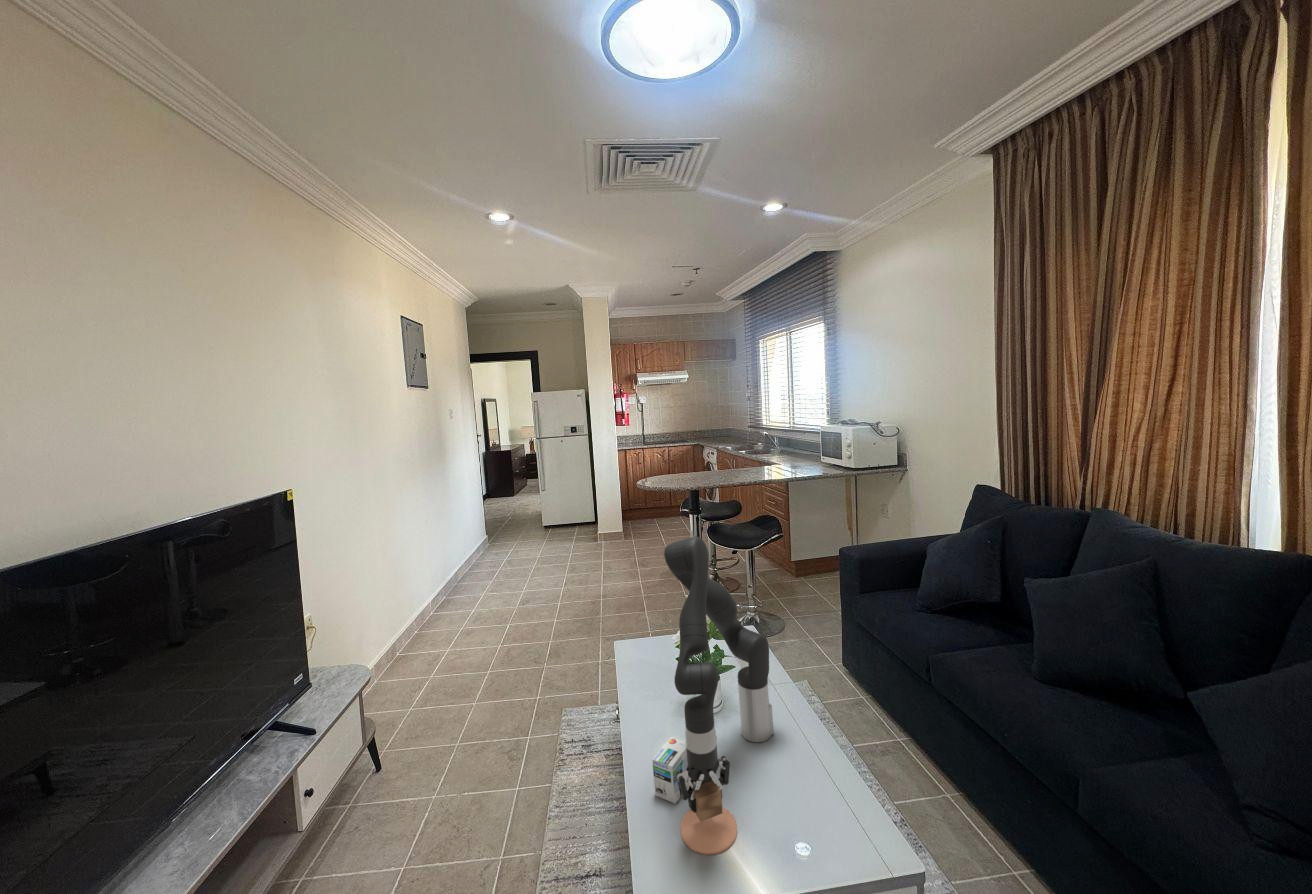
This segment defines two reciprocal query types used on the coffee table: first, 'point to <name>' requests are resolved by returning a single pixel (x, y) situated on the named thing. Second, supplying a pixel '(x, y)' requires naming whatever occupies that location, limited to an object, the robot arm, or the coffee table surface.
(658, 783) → the light bulb box
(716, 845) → the terracotta coaster
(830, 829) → the coffee table surface
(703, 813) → the walnut cube
